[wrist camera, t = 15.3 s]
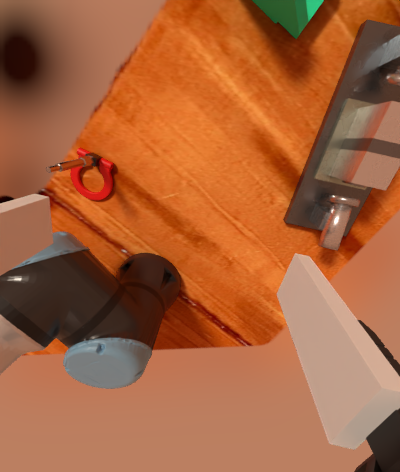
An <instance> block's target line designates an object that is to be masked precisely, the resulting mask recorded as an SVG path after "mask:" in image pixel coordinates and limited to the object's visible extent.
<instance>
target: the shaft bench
mask: <svg viewBox="0 0 400 472" xmlns="http://www.w3.org/2000/svg"><path fill="white" fill-rule="evenodd" d="M389 101H395V102H400V27H398V26H394V25H389V24H385V23H380V22H376V21H371V20H366V21H365V22H364V23H363V24H361V26H360V28H359V31H358V33H357V36H356V38H355V41H354V43H353V46H352V48H351V51H350V54H349V56H348V59H347V61H346V64H345V66H344V69H343V71H342V74H341V76H340V79H339V81H338V84H337V86H336V89H335V91H334V94H333V96H332V99H331V101H330V104H329V106H328V109H327V111H326V114H325V116H324V119H323V122H322V124H321V127H320V129H319V132H318V134H317V137H316V139H315V142H314V144H313V147H312V149H311V152H310V154H309V157H308V159H307V162H306V164H305V167H304V169H303V172H302V174H301V177H300V179H299V182H298V184H297V187H296V190H295V192H294V195H293V197H292V200H291V202H290V205H289V207H288V210H287V212H286V215H285V217H284V221H285V223H290V224H294V225H299V226H303V227H307V228H312V229H316V230H321V231H322V234H321V237H320V240H319V243H318V245H319V246H322V247H325V248H329V249H333V250H338V248H339V245H340V242H341V239H342V236H346V235H347V234H348V232H349V230H350V228H351V226H352V224H353V223H354V221H355V219H356V217H357V215H358V214H359V212H360V210H361V208H362V206H363V204H364V203H365V201H366V199H367V197H368V195H369V194H370V192H371V190H372V187H368V186H365V188H363V187H358V186H354V185H350V184H347V183H343V182H342V179H339V178H336V177H332V176H329V173H330V171H331V169H332V166H333V164H334V162H335V160H336V158H337V155H338V153H339V151H340V148H341V145H342V143H343V141H344V139H345V138H346V135H347V133H348V131H349V129H350V126H351V124H352V122H353V120H354V118H355V115H356V113H357V111H358V109H359V108H363V107H367V106H372V105H376V104H380V103H385V102H389Z"/></svg>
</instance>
